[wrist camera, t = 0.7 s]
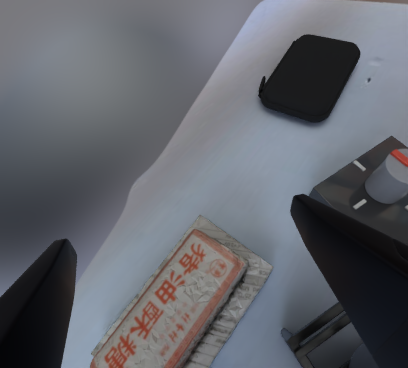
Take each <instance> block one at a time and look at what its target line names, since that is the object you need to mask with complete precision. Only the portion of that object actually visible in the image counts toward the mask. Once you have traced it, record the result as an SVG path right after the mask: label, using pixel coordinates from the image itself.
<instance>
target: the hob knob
mask: <svg viewBox="0 0 408 368" xmlns="http://www.w3.org/2000/svg"><path fill="white" fill-rule="evenodd" d="M365 189H366V191H367V193H368V194H369V195H370V196H371V197H372V198H373V199H374V200H376V201H378V202H381V203H385V204H392V203H396V202H399V201H400V200H402V199H403V198H405V197H406V196H408V149H398V150H397V149H395V150H394V151H392V152H391V153H390V154H389V155H388V156H387V157H386V158H385V159H384V160H383V161H382V162H381V163H380V164H379V165H378V166H377V168H376V169H375V170H374V171H373V172H372V173H371V174H370V175H369V176H368V177H367V179H366V181H365Z"/></svg>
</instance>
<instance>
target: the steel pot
mask: <svg viewBox="0 0 408 368" xmlns="http://www.w3.org/2000/svg"><path fill="white" fill-rule="evenodd" d="M349 368H378V366H377V364H376V363H375V361H374V359H373V358H372V355H371V354H370V352H369V351H368V349H367V347H366V346H365V344H364V343H362V344H361V345H360V346H359V347H358V348H357V349H356V351H355V352H354V354H353V355H352V358H351V360H350V364H349Z"/></svg>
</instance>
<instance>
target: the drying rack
mask: <svg viewBox="0 0 408 368" xmlns="http://www.w3.org/2000/svg"><path fill="white" fill-rule="evenodd" d="M343 311H344V309H343V307H342V306H341V304H340V303H339V302H338V303H336V304H335V305H334V306H332V307H331V308H329V309H328V310H327V311H325V312H324V313H322V314H321V315H320V316H318V317H317V318H316V319H314V320H313V321H311V322H310V323H309V324H307V325H306V326H305V327H303V328H302V329H300V330H299V331H298V332H296V333H295V334H292V333H290V332H289V331H288V330H287V329H285V328H283V329H282V330H281V334H282V337H283V339H284V340H285V342H286V343H287V345H288V346H289V348H290V349H291V351H292V352H293V354H294V356H295V357H296V359H297V360H298V362H299V363H300V365H301V366H302V368H314V366H313V365H312V363H311V362H310V360H309V359H308V357H307V356H306V355H307V354H308V353H309V352H311V351H312V350H314V349H315V348H316V347H318V346H319V345H320V344H322V343H323V342H324V341H326V340H327V339H328V338H330V337H331V336H333V335H334V334H335V333H337V332H338V331H339V330H341V329H342V328H343V327H345V326H346V325H347V324H349V323H350V322H351V321H350V319H349V317H348V316H347V314H346V313H345V314H344V315H342V316H341V317H340V318H338V319H337V320H336V321H334V322H333V323H331V324H330V325H329V326H327V327H326V328H325V329H323V330H322V331H321V332H319V333H318V334H316V335H315V336H314V337H312V338H311V339H310V340H308V341H307V342H306V343H304V344H303V345H301V346H300V345H299V343H301V342H302V341H304V340H305V339H306V338H308V337H309V336H310V335H312V334H313V333H315V332H316V331H317V330H319V329H320V328H321V327H323V326H324V325H325V324H327V323H328V322H330V321H331V320H332V319H334V318H335V317H336V316H338V315H339V314H341V313H342V312H343ZM350 360H351V359H350ZM350 360H349V361H347V362H346V363H345V364H343V365H342V366H341V367H339V368H349V364H350Z"/></svg>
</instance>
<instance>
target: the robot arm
mask: <svg viewBox="0 0 408 368" xmlns="http://www.w3.org/2000/svg"><path fill="white" fill-rule="evenodd" d="M290 212H291V216H292V218H293V220H294V222H295V225H296V227H297V229H298V231H299V233H300V235H301V237H302V240H303V242H304V244H305V246H306V248H307V249H308V251H309V253H310V254H311V256H312V258H313V259H314V261H315V263H316V264H317V266H318V268H319V269H320V271H321V273H322V274H323V276H324V278H325V279H326V281H327V283H328V284H329V286H330V288H331V289H332V291H333V293H334V294H335V296H336V298H337V299H338V301H339V303H340V304H341V306H342V307H343V309H344V311H345V312H346V314H347V316H348V317H349V319H350V321H351V322H352V324H353V326H354V327H355V329H356V331H357V332H358V334H359V336H360V337H361V339H362V341H363V342H364V344H365V346H366V347H367V349H368V351H369V352H370V354H371V355H372V358H373V359H374V361H375V363H376V364H377V366H378V368H408V245H407V244H405V243H403V242H401V241H399V240H397V239H395V238H392V237H391V236H389V235H386V234H384V233H382V232H380V231H378V230H376V229H374V228H372V227H370V226H368V225H366V224H364V223H362V222H360V221H358V220H356V219H354V218H352V217H350V216H348V215H346V214H344V213H342V212H340V211H338V210H336V209H334V208H332V207H330V206H327V205H325V204H323V203H321V202H319V201H317V200H315V199H313V198H311V197H309V196H307V195H305V194H300V195H295V196H294V197H293V200H292V205H291V210H290ZM76 264H77V254H76V251H75V250H74V248H73V246H72V245H71V243H70V241H69V240H68V239H61V240H56V241H54V242H53V243H52V244H51V245H50V246H49V247H48V248H47V249H46V251H44V252H43V253H42V255H41V256H40V257H39V258H38V259H37V260H36V261H35V262H34V263H33V264H32V265H31V266H30V267H29V268H28V269H27V270H26V271H25V272H24V273H23V274H22V275H21V276H20V277H19V279H17V281H15V283H14V284H13V285H12V286H11V287H10V288H9V289H8V290H7V291H6V292H5V293H4V294H3V295H2V296H1V297H0V368H61V364H62V359H63V353H64V348H65V343H66V338H67V332H68V327H69V322H70V317H71V312H72V306H73V301H74V293H75V280H76V266H77V265H76Z"/></svg>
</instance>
